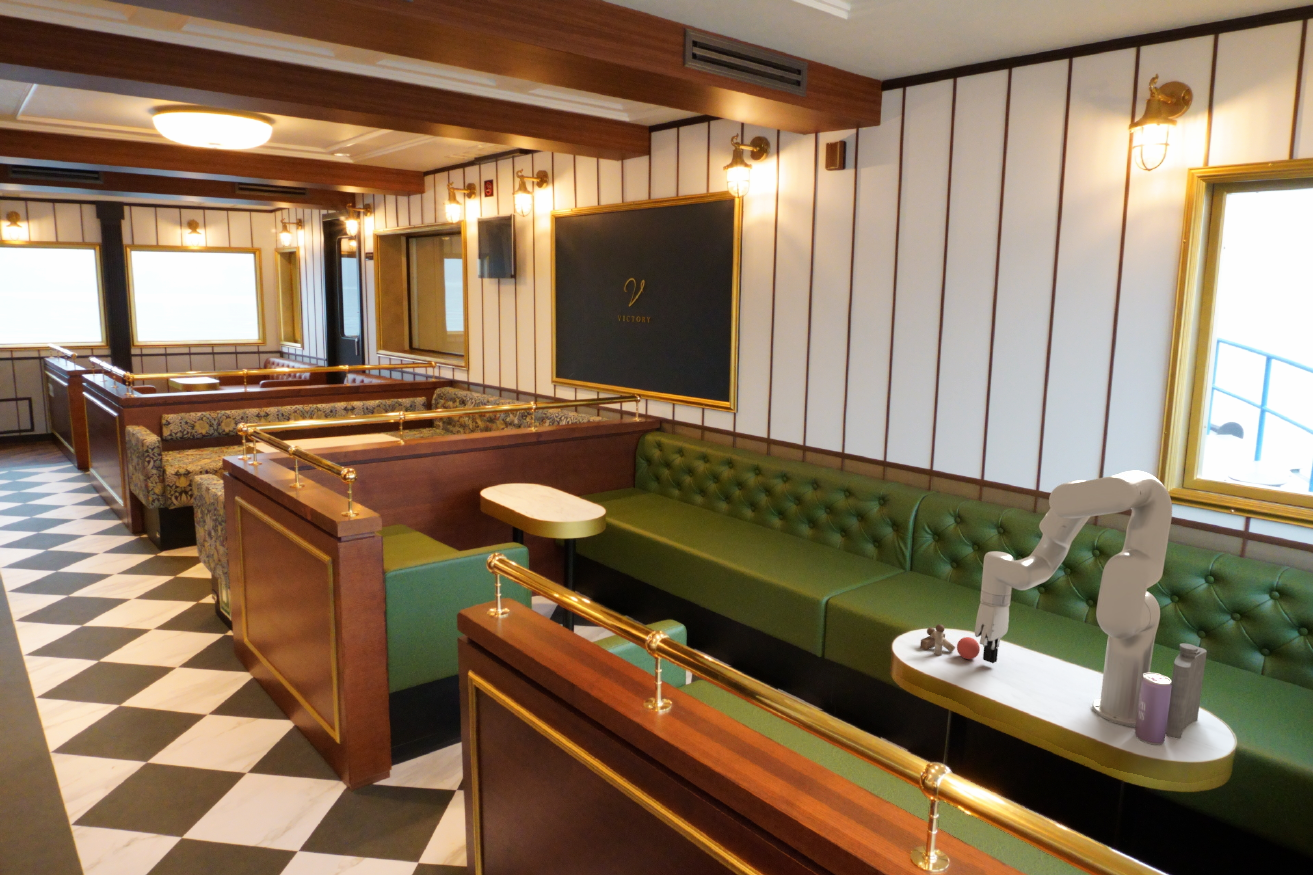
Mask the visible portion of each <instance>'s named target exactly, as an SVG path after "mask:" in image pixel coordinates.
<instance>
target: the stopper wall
mask: <svg viewBox="0 0 1313 875" xmlns="http://www.w3.org/2000/svg"><path fill="white" fill-rule="evenodd" d="M943 637H944V638H945V639H946V633H944V632H943ZM919 647H920V649H922V650H925V651H928V650H930V649H933V648H935V639H934V638H933V637H932V636H930V635H929V636H927V637H923V638H922V639H920V646H919Z"/></svg>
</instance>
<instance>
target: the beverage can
mask: <svg viewBox="0 0 1313 875" xmlns="http://www.w3.org/2000/svg"><path fill="white" fill-rule="evenodd" d="M1171 683H1172V679H1170V677H1168V676H1166V675H1163V674H1160V673H1157V672H1150V673H1144V674H1143V677H1142V679H1141V686H1140V694H1139V702H1138V710H1137V718H1136V726H1135V727H1134V735H1135V737H1136V738H1137V739H1138V740H1139V741H1141V742H1143V743H1145V744H1149V745H1152V746H1158V745H1159V746H1160V745H1162V744H1163V743H1164V742H1165V741H1166V736H1167V735H1166V727H1167V720H1168V712H1169V704H1170V697H1171V689H1172V685H1171Z"/></svg>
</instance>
